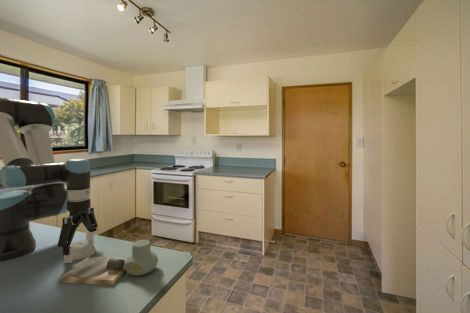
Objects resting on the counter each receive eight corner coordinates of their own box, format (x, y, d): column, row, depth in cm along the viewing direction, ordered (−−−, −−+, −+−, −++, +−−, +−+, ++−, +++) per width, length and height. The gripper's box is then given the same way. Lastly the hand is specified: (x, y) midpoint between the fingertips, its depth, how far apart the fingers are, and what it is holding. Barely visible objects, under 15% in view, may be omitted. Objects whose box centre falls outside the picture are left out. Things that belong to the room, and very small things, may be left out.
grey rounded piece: (119, 274, 77) (119, 246, 77) (135, 262, 86) (135, 236, 85) (148, 280, 75) (148, 250, 74) (161, 266, 83) (162, 240, 82)
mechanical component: (57, 259, 86) (80, 262, 84) (57, 247, 86) (80, 251, 84) (80, 247, 96) (101, 250, 94) (80, 236, 96) (101, 239, 94)
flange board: (60, 282, 72) (59, 268, 72) (87, 260, 85) (87, 248, 85) (113, 285, 72) (113, 270, 72) (132, 262, 85) (132, 250, 84)
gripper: (64, 208, 76) (66, 272, 78) (106, 192, 100) (107, 241, 101) (42, 208, 76) (44, 270, 78) (89, 191, 100) (90, 240, 101)
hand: (80, 254), depth 89 cm, fingers open, 11 cm apart
